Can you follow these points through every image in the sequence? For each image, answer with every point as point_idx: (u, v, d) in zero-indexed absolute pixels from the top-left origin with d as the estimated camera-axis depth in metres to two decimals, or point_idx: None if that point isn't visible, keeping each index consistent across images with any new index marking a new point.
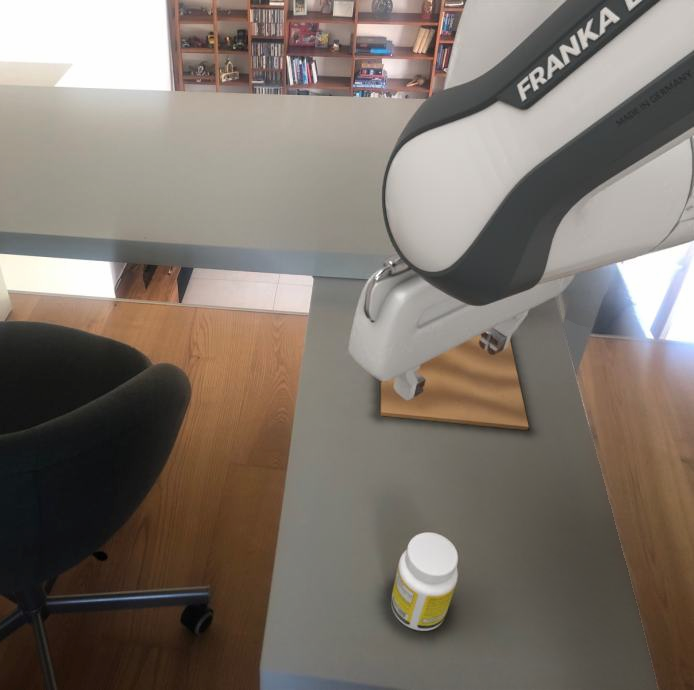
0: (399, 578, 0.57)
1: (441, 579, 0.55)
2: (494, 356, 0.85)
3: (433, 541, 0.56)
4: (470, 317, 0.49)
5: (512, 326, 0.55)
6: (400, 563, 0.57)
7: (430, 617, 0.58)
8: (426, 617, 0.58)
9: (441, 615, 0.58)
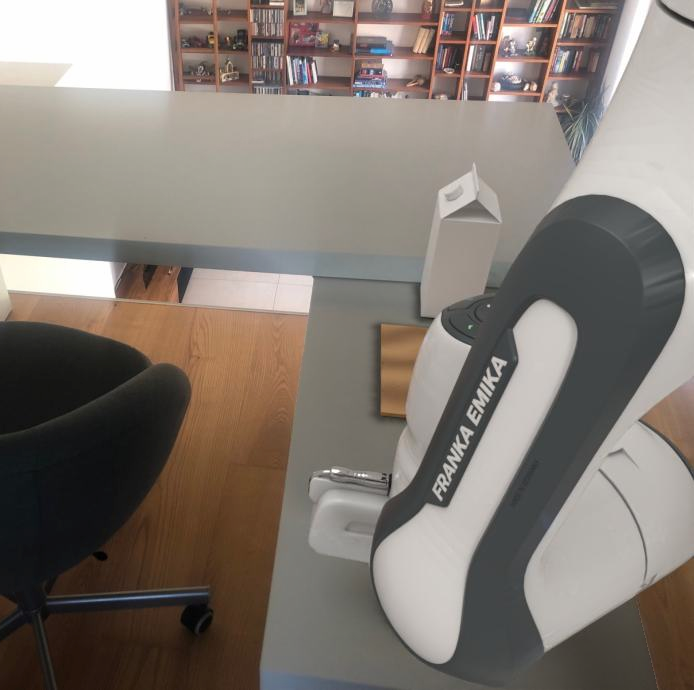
0: None
1: None
2: None
3: None
4: None
5: None
6: None
7: None
8: None
9: None
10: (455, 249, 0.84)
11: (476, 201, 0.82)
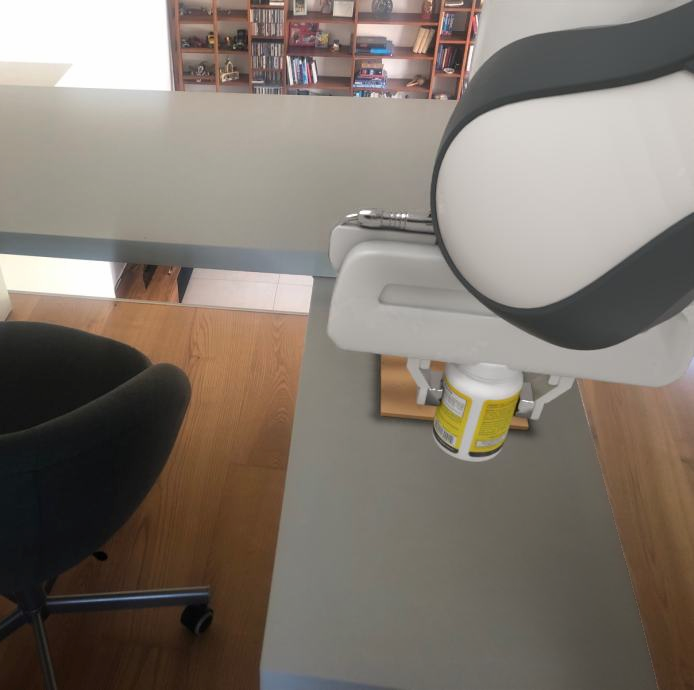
0: (446, 386, 0.44)
1: (504, 373, 0.41)
2: None
3: None
4: (469, 333, 0.40)
5: (545, 392, 0.43)
6: (447, 366, 0.44)
7: (486, 437, 0.44)
8: (481, 438, 0.44)
9: (500, 437, 0.45)
10: None
11: None
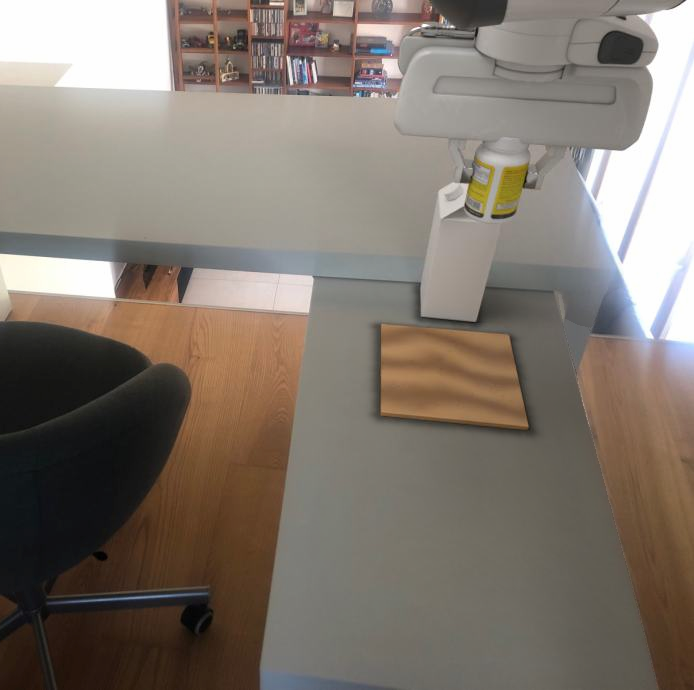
0: (476, 164, 0.63)
1: (518, 144, 0.60)
2: (494, 356, 0.85)
3: None
4: (494, 113, 0.59)
5: (545, 164, 0.61)
6: (477, 150, 0.63)
7: (504, 201, 0.63)
8: (500, 201, 0.63)
9: (513, 202, 0.63)
10: (455, 249, 0.84)
11: None
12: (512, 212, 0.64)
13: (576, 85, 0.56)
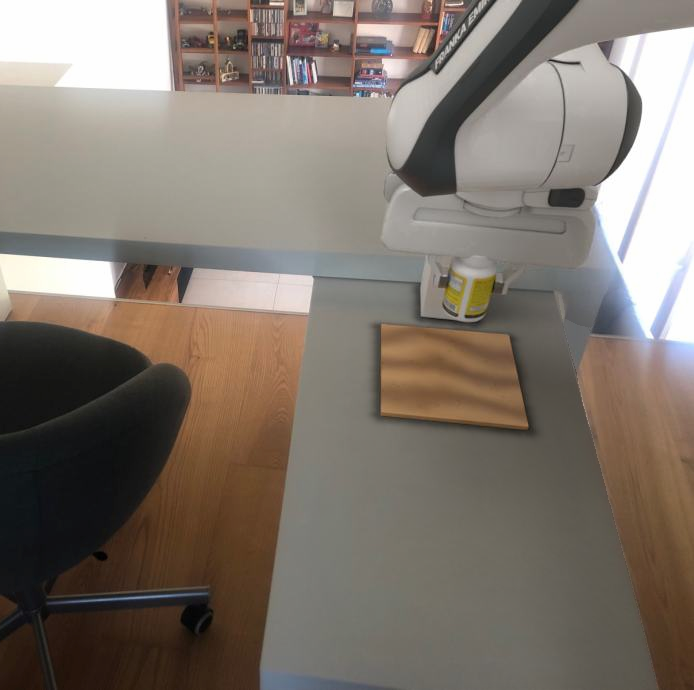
0: (451, 273, 0.73)
1: (485, 261, 0.71)
2: (494, 356, 0.85)
3: None
4: (465, 237, 0.69)
5: (510, 275, 0.72)
6: (452, 261, 0.73)
7: (475, 305, 0.74)
8: (472, 305, 0.74)
9: (484, 305, 0.74)
10: None
11: None
12: (483, 312, 0.75)
13: (532, 218, 0.67)
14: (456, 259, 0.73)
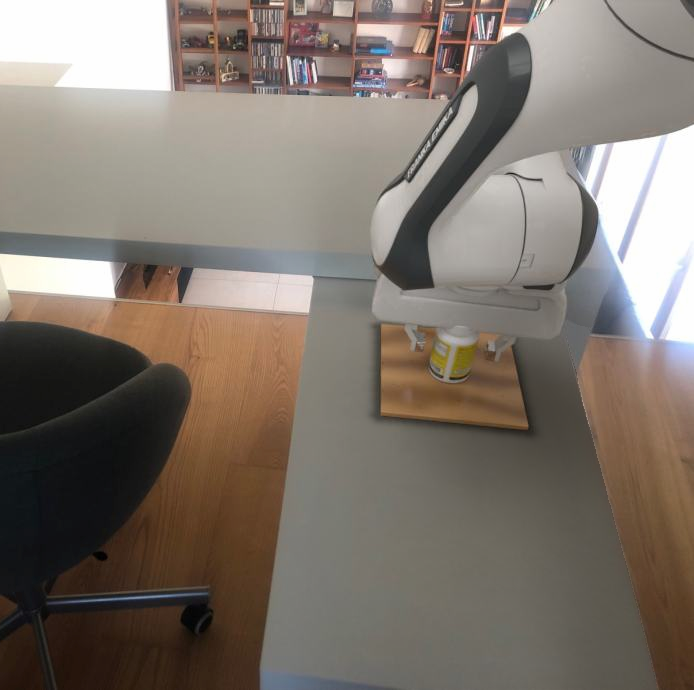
0: (436, 339, 0.79)
1: (467, 331, 0.77)
2: None
3: None
4: (448, 311, 0.75)
5: (501, 345, 0.78)
6: (437, 328, 0.79)
7: (458, 368, 0.80)
8: (456, 368, 0.80)
9: (467, 368, 0.80)
10: None
11: None
12: (466, 374, 0.81)
13: (509, 296, 0.73)
14: None
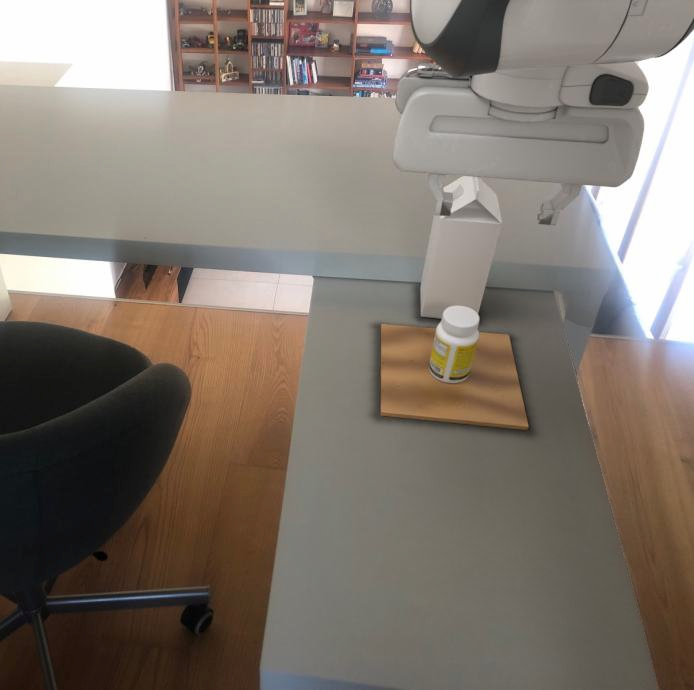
0: (436, 339, 0.79)
1: (467, 331, 0.77)
2: (494, 356, 0.85)
3: (461, 310, 0.78)
4: (490, 150, 0.60)
5: (561, 201, 0.62)
6: (437, 328, 0.79)
7: (458, 368, 0.80)
8: (456, 368, 0.80)
9: (467, 368, 0.80)
10: (455, 249, 0.84)
11: (476, 201, 0.82)
12: (466, 374, 0.81)
13: (569, 124, 0.57)
14: (441, 327, 0.79)
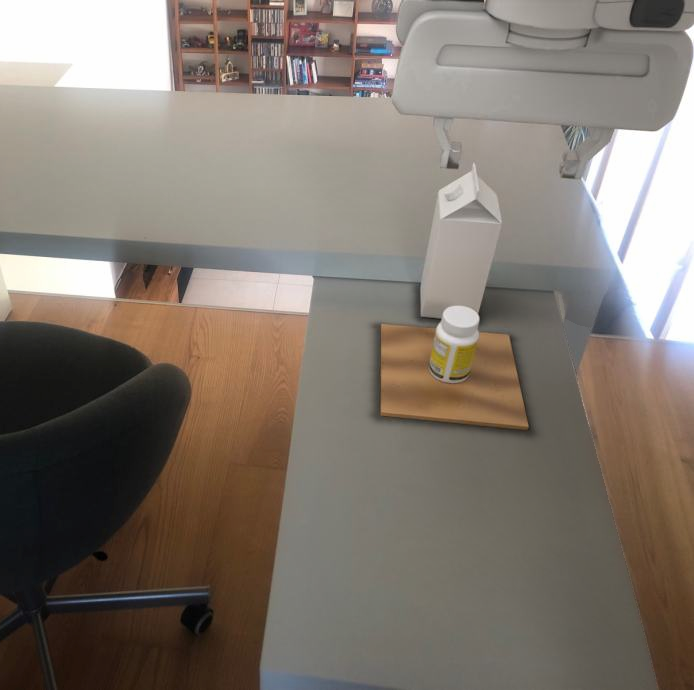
0: (436, 339, 0.79)
1: (467, 331, 0.77)
2: (494, 356, 0.85)
3: (461, 310, 0.78)
4: (507, 88, 0.51)
5: (588, 149, 0.53)
6: (437, 328, 0.79)
7: (458, 368, 0.80)
8: (456, 368, 0.80)
9: (467, 368, 0.80)
10: (455, 249, 0.84)
11: (476, 201, 0.82)
12: (466, 374, 0.81)
13: (602, 54, 0.48)
14: (441, 327, 0.79)
